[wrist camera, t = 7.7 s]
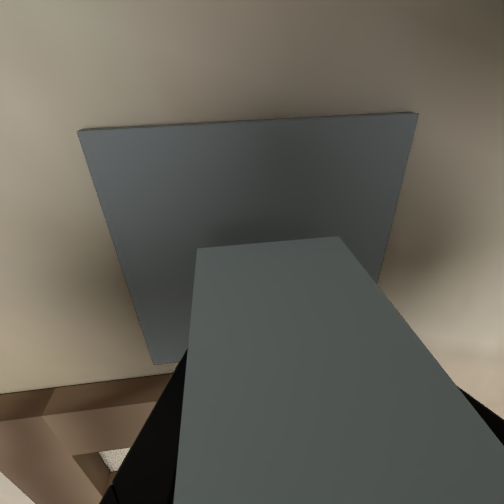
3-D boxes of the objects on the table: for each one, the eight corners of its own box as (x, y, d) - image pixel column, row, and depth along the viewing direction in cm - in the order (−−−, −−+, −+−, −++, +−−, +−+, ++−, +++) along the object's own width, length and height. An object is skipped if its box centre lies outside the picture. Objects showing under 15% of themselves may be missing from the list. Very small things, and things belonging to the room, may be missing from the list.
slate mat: (410, 111, 10) (418, 113, 10) (359, 333, 16) (363, 340, 15) (82, 129, 9) (76, 131, 9) (155, 356, 15) (153, 365, 14)
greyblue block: (338, 236, 9) (691, 684, 2) (324, 334, 12) (483, 701, 5) (197, 248, 9) (144, 814, 2) (212, 347, 11) (211, 761, 4)
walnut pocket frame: (243, 365, 16) (245, 389, 15) (251, 476, 23) (254, 498, 22) (-26, 397, 15) (-48, 427, 14) (72, 503, 22) (63, 529, 21)
